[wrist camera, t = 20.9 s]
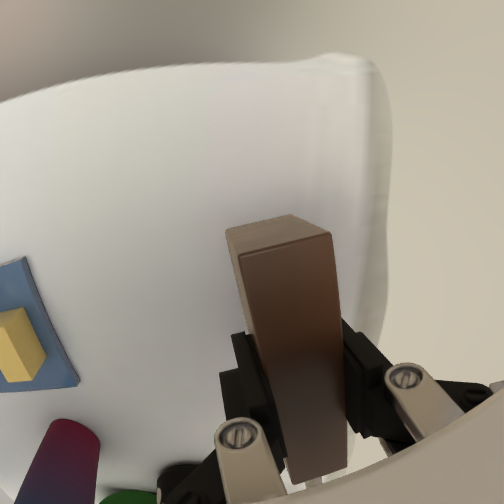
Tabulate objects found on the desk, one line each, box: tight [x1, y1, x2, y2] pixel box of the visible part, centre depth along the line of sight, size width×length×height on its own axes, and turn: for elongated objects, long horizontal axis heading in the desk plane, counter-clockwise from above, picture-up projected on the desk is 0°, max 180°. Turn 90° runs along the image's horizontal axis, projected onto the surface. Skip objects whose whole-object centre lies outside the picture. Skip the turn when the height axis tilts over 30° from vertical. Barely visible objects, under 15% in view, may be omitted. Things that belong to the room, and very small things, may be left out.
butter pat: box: [0, 307, 47, 382], centre depth 16 cm, size 2×4×3 cm, turn 11°
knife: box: [225, 214, 347, 489], centre depth 12 cm, size 2×19×4 cm, turn 12°
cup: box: [14, 419, 100, 504], centre depth 14 cm, size 7×7×15 cm
